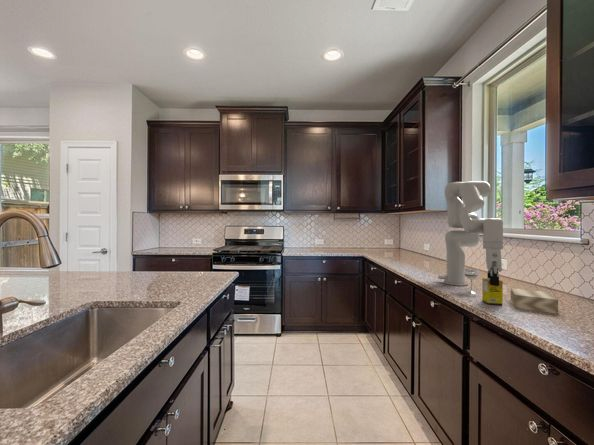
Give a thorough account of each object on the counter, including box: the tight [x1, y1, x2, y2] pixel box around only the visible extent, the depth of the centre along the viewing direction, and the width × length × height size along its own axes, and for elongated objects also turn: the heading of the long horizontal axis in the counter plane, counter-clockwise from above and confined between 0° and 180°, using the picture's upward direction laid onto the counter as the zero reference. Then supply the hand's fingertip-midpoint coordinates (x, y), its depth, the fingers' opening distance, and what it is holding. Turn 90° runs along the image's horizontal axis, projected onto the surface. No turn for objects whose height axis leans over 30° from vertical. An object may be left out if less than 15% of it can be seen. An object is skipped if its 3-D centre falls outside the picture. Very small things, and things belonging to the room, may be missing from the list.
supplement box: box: [481, 277, 504, 306], centre depth 129 cm, size 6×6×11 cm
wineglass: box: [464, 268, 480, 295], centre depth 149 cm, size 7×7×12 cm
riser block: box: [510, 287, 559, 314], centre depth 125 cm, size 14×14×6 cm
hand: (493, 283), depth 129 cm, fingers open, 9 cm apart
